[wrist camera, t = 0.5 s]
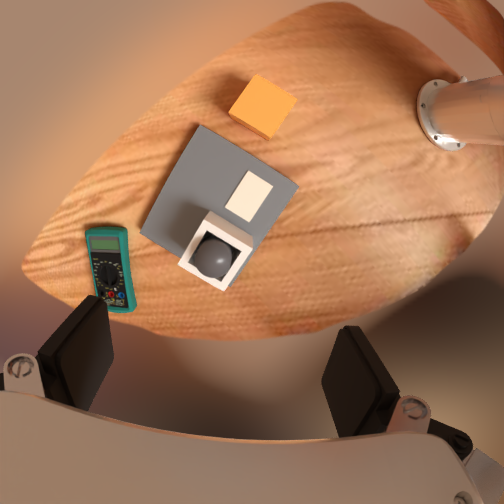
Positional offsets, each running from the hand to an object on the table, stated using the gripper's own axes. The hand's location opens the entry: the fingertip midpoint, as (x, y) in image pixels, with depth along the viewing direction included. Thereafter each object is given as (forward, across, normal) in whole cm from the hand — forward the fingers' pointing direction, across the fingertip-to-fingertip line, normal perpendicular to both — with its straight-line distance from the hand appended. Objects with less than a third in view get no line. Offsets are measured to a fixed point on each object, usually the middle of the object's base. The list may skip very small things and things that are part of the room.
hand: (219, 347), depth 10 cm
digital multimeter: (+33, +19, +12) cm, 40 cm away
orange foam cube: (+31, -2, -14) cm, 35 cm away
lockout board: (+32, +3, 0) cm, 32 cm away
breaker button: (+27, +2, +5) cm, 28 cm away
